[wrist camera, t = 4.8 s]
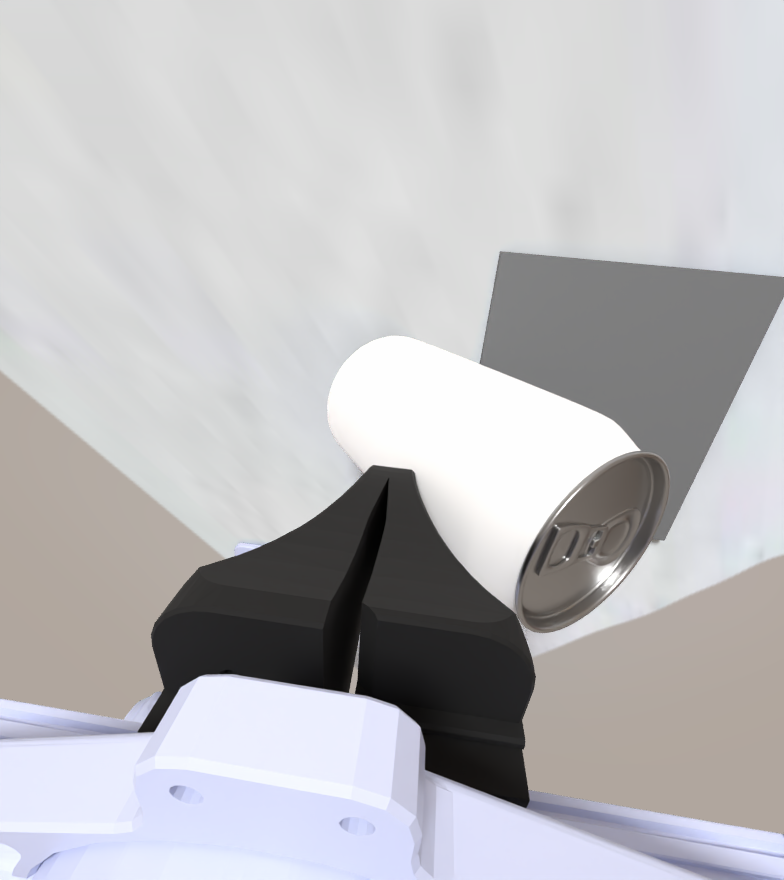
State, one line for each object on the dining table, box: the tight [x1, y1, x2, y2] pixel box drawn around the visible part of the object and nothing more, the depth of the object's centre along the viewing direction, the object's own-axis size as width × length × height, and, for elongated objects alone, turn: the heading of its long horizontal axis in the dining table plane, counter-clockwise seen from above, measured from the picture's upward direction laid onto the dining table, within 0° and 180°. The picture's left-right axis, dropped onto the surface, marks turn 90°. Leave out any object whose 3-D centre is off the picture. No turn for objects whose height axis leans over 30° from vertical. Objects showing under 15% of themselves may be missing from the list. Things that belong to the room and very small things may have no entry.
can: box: [327, 336, 670, 633], centre depth 15 cm, size 6×6×12 cm
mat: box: [480, 252, 784, 540], centre depth 21 cm, size 14×12×1 cm
